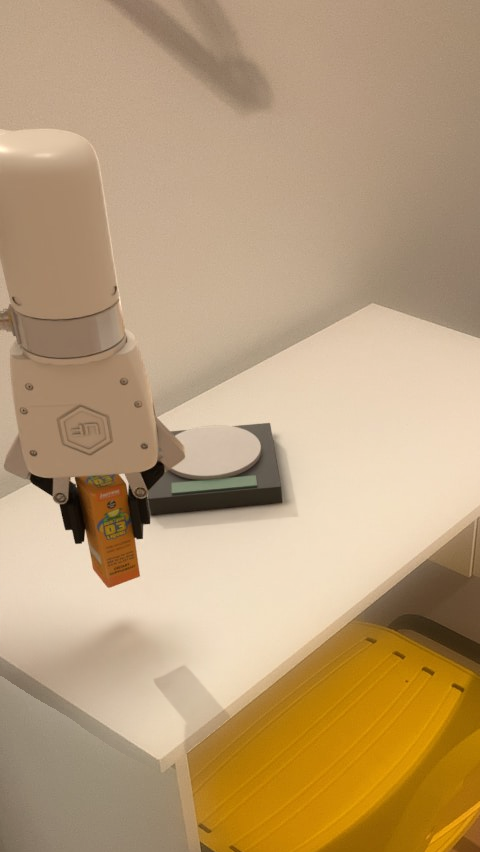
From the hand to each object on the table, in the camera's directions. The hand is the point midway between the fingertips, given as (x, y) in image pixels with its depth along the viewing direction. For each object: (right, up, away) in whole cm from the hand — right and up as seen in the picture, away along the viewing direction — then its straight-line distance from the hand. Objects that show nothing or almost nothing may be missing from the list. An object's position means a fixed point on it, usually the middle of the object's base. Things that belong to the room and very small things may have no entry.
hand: (109, 530), depth 81 cm
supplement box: (0, -4, +3) cm, 5 cm away
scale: (+5, +9, +26) cm, 28 cm away
